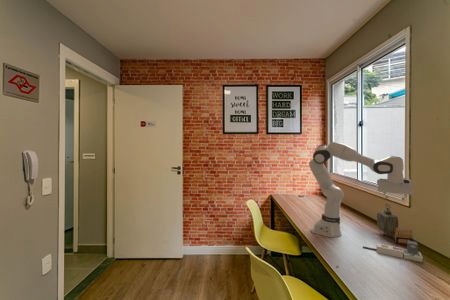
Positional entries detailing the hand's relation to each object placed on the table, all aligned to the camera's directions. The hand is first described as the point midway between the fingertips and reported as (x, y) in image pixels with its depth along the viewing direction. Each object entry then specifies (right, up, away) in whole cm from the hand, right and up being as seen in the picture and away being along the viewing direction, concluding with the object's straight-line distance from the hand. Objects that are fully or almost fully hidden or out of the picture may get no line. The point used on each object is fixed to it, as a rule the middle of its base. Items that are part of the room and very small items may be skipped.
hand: (394, 199), depth 160 cm
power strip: (-12, -34, -4) cm, 37 cm away
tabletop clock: (+10, -34, +22) cm, 41 cm away
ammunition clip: (+12, -34, +7) cm, 37 cm away
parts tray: (+2, -35, -12) cm, 37 cm away
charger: (+2, -34, -12) cm, 36 cm away
